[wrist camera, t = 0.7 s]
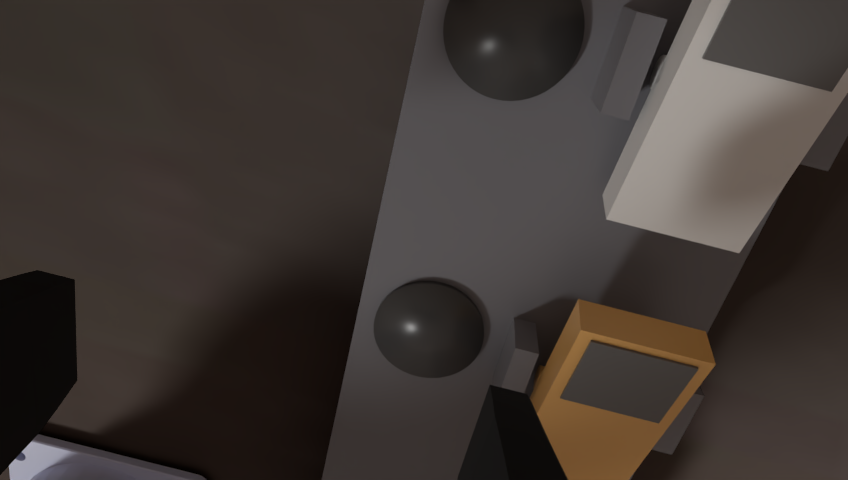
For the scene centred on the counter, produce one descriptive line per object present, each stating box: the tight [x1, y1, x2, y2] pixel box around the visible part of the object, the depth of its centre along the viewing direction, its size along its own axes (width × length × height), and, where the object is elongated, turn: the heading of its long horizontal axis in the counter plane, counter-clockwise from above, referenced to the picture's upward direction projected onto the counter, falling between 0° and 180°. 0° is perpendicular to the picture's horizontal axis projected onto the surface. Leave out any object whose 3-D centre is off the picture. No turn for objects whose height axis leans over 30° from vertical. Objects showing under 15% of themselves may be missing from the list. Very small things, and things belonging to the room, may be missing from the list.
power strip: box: [322, 0, 848, 480], centre depth 18 cm, size 26×9×4 cm, turn 167°
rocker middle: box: [530, 299, 716, 480], centre depth 16 cm, size 6×3×2 cm, turn 167°
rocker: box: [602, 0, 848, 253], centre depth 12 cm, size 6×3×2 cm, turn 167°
